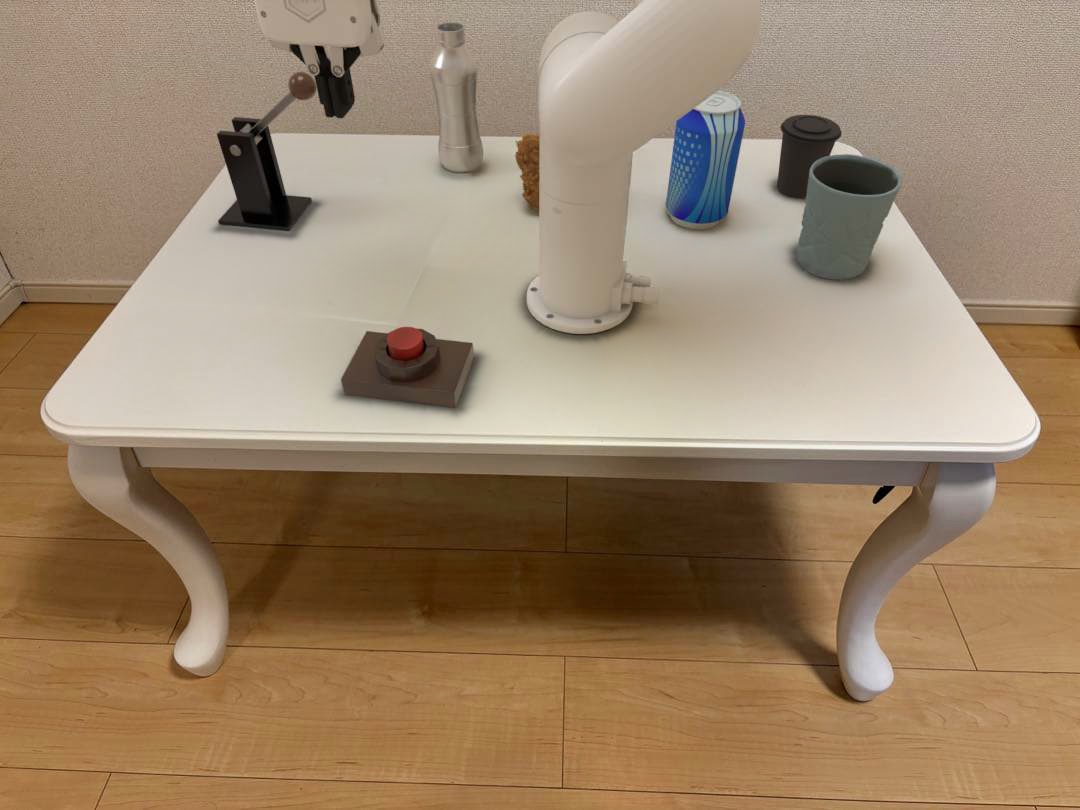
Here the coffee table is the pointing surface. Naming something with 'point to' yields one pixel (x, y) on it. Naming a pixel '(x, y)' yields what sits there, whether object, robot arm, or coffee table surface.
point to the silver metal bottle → (456, 100)
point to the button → (405, 343)
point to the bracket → (257, 182)
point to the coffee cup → (803, 150)
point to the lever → (285, 102)
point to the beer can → (705, 161)
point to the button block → (409, 371)
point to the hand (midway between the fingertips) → (339, 111)
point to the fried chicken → (529, 168)
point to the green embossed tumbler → (844, 214)
